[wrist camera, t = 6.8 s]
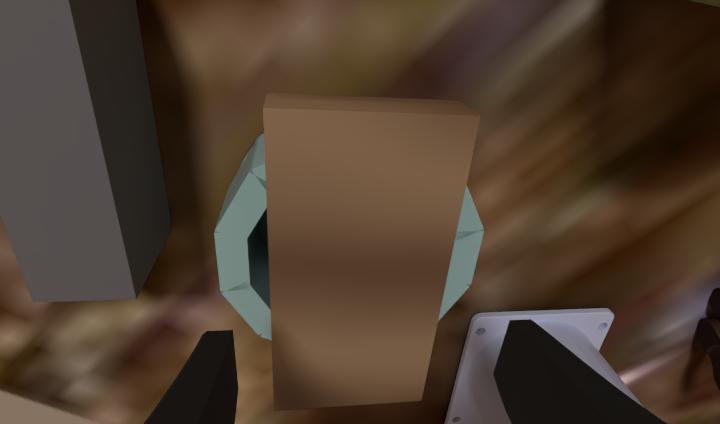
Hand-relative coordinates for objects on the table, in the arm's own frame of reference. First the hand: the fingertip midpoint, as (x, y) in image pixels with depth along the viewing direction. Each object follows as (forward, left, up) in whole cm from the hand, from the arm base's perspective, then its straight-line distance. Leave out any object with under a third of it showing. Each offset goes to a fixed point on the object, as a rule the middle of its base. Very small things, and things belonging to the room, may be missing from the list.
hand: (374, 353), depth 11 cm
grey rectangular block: (+4, +9, -8) cm, 12 cm away
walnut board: (0, 0, -4) cm, 4 cm away
